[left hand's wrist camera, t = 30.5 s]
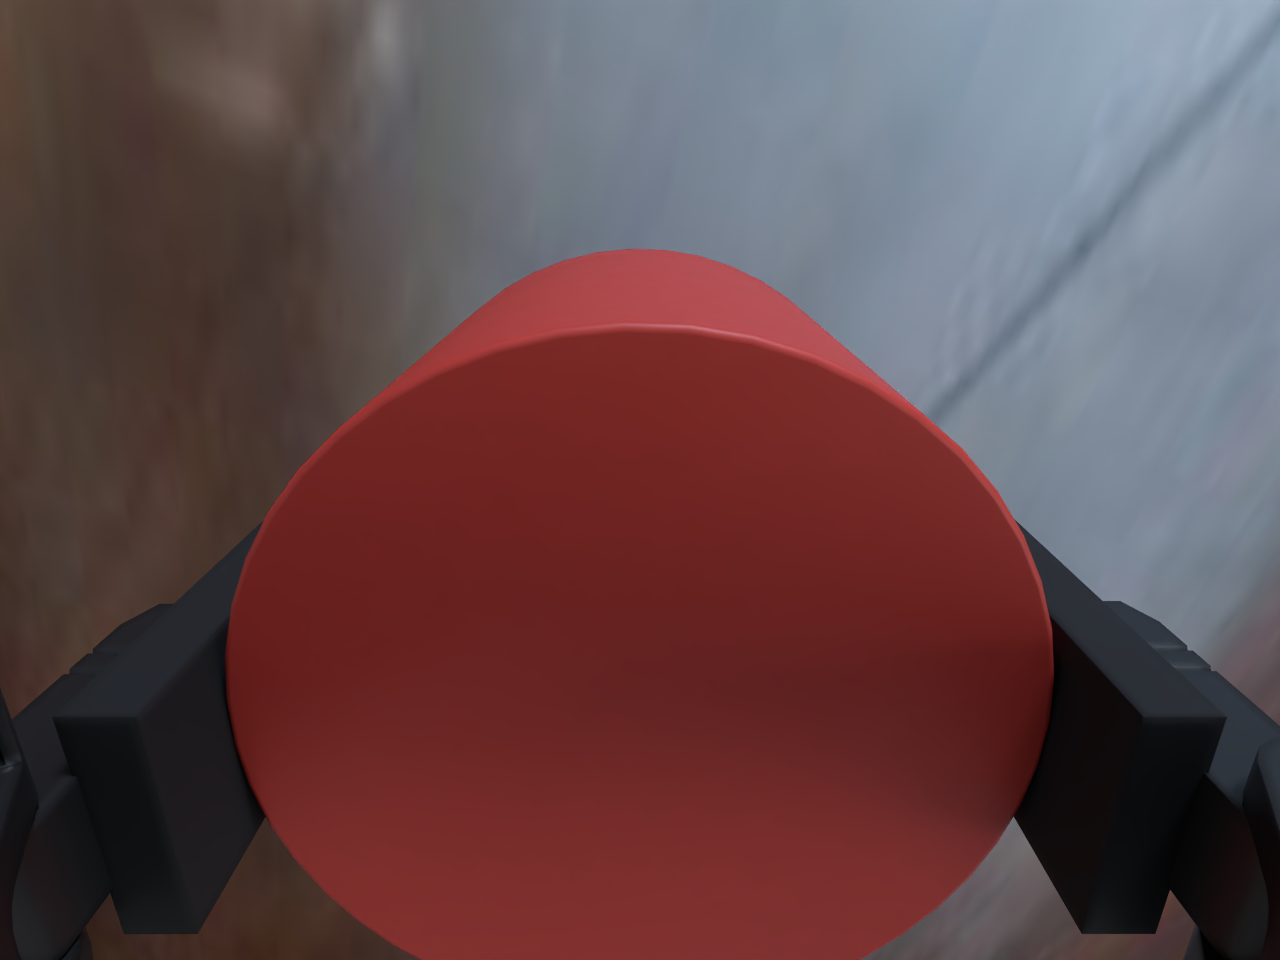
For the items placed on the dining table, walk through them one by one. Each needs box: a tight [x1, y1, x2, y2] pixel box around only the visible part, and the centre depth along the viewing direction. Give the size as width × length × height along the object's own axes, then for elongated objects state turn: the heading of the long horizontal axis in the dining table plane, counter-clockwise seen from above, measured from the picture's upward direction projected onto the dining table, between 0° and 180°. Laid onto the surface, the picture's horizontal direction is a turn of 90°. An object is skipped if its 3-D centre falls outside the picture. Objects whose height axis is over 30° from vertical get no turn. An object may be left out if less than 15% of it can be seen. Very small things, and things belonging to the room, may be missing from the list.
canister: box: [225, 249, 1054, 960], centre depth 12 cm, size 9×9×7 cm
